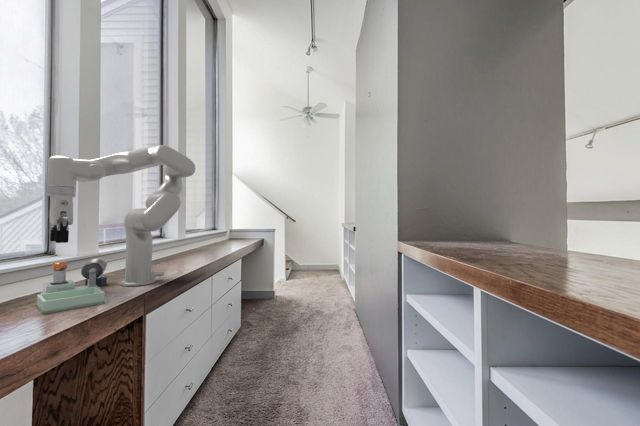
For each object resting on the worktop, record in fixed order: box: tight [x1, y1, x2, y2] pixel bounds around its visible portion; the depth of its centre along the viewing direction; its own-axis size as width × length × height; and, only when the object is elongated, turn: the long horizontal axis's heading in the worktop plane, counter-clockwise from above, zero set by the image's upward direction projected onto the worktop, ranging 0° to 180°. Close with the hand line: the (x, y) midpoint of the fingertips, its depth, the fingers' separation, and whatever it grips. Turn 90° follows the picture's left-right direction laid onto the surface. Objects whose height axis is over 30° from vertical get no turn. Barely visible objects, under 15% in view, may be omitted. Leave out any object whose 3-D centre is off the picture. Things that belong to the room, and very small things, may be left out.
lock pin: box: [51, 261, 68, 285], centre depth 100 cm, size 4×4×10 cm
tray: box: [36, 287, 106, 315], centre depth 92 cm, size 15×12×4 cm
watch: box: [84, 258, 108, 288], centre depth 117 cm, size 6×8×11 cm
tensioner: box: [40, 262, 103, 294], centre depth 103 cm, size 16×9×11 cm, turn 141°
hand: (58, 241), depth 99 cm, fingers open, 9 cm apart
